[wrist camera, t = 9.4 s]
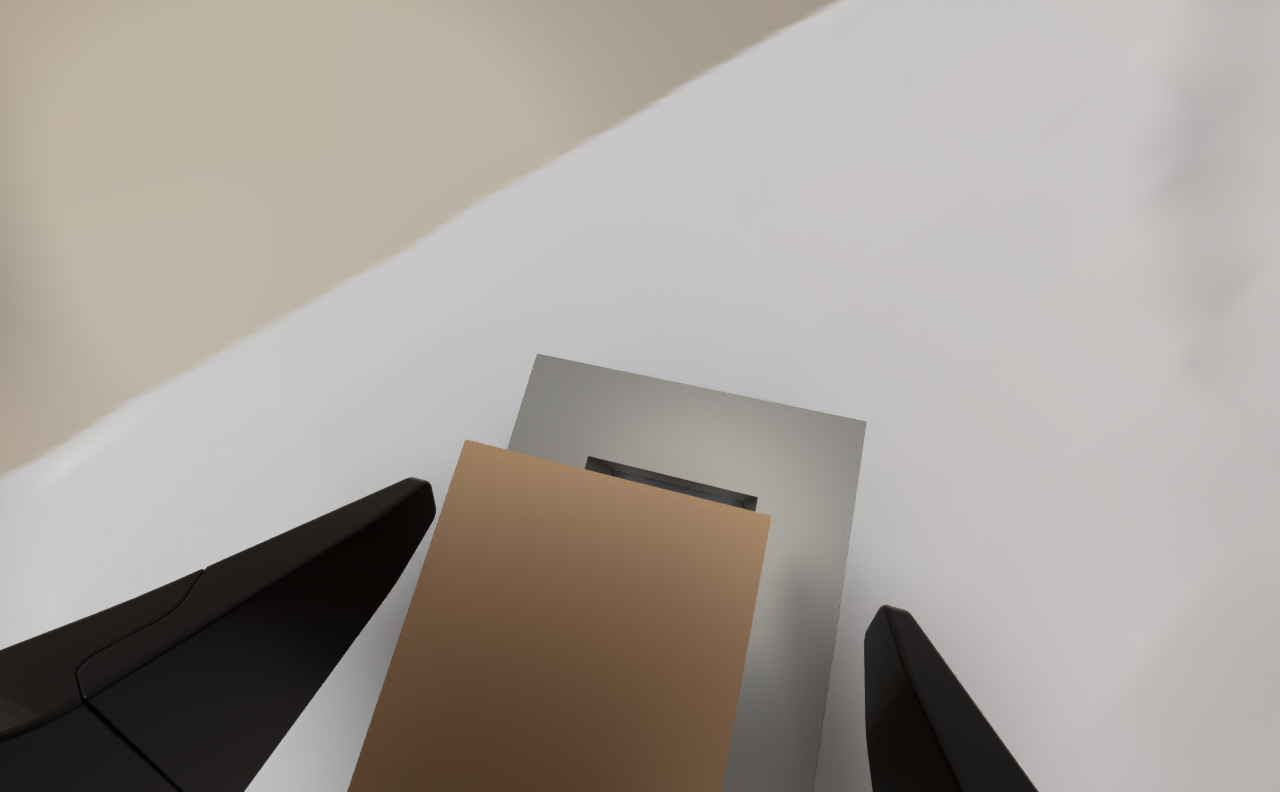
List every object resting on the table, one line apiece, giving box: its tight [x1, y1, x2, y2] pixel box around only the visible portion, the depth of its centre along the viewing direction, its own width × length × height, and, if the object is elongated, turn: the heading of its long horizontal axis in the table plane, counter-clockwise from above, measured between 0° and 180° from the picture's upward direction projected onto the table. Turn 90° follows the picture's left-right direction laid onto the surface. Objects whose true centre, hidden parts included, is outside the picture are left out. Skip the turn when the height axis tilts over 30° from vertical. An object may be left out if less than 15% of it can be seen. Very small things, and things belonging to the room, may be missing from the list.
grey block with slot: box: [507, 354, 866, 792], centre depth 15 cm, size 12×10×4 cm
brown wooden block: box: [348, 440, 772, 792], centre depth 11 cm, size 5×4×12 cm
